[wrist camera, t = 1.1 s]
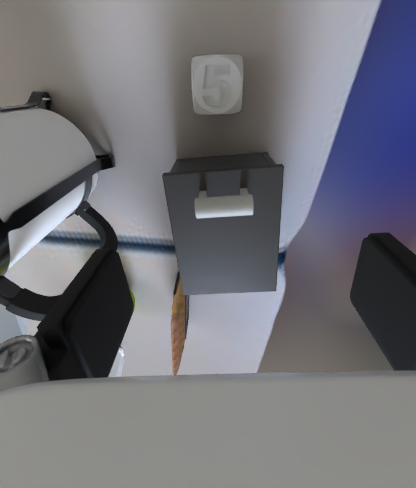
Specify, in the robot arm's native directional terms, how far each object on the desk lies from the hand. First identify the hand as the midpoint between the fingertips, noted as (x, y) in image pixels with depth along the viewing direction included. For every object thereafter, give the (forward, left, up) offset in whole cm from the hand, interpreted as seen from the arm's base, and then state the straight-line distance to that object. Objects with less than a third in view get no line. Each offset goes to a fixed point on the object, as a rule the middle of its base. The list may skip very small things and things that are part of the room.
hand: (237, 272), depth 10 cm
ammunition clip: (+25, -8, -27) cm, 37 cm away
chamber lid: (+8, 0, -18) cm, 19 cm away
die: (-6, 0, -27) cm, 27 cm away
